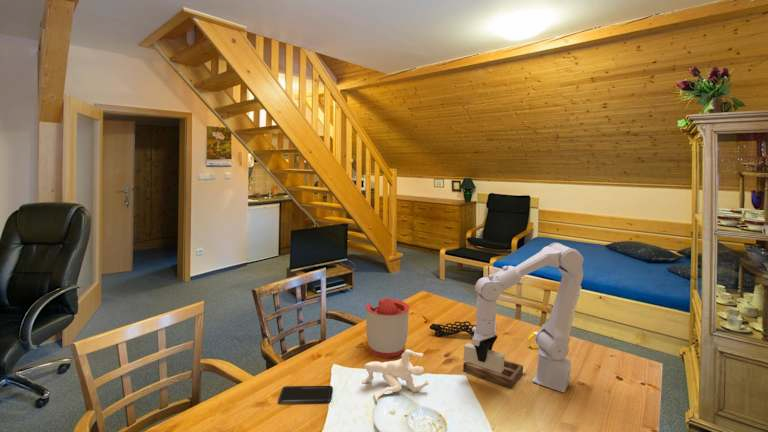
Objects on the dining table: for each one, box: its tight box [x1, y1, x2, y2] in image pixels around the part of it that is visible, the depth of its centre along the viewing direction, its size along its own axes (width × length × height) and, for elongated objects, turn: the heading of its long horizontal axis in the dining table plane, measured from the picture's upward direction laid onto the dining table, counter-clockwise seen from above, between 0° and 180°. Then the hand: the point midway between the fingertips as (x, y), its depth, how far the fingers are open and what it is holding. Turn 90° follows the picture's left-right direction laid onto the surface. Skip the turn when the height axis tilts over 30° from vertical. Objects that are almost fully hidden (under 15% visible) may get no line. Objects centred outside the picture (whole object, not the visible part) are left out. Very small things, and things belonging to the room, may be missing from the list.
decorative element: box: [429, 320, 476, 338], centre depth 156 cm, size 22×5×6 cm, turn 85°
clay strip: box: [463, 342, 506, 373], centre depth 122 cm, size 12×2×5 cm, turn 53°
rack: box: [462, 359, 524, 389], centre depth 130 cm, size 16×11×3 cm
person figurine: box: [361, 349, 430, 403], centre depth 120 cm, size 13×13×18 cm
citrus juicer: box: [365, 297, 410, 359], centre depth 143 cm, size 16×17×20 cm
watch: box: [527, 331, 539, 350], centre depth 147 cm, size 6×3×6 cm, turn 88°
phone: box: [277, 385, 334, 405], centre depth 115 cm, size 8×1×15 cm
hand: (483, 359), depth 122 cm, fingers closed on clay strip, 2 cm apart
